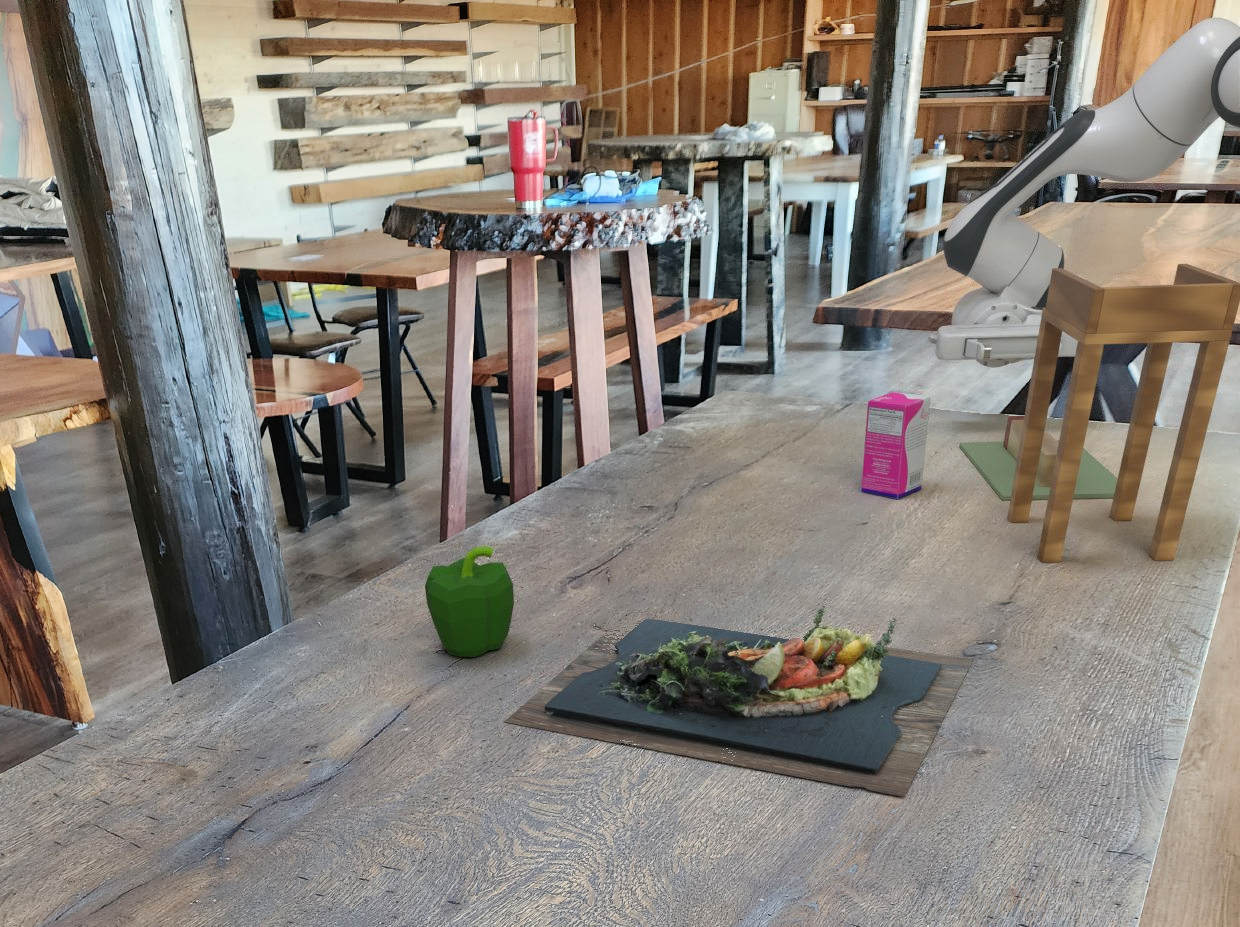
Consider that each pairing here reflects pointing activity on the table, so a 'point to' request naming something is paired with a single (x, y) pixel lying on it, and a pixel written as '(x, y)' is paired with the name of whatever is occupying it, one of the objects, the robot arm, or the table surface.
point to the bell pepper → (470, 604)
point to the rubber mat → (1000, 476)
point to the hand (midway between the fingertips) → (1020, 351)
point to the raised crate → (1128, 317)
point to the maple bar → (1046, 453)
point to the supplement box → (895, 444)
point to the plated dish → (758, 700)
